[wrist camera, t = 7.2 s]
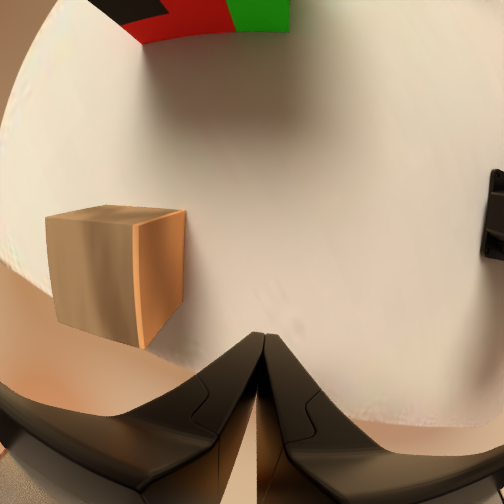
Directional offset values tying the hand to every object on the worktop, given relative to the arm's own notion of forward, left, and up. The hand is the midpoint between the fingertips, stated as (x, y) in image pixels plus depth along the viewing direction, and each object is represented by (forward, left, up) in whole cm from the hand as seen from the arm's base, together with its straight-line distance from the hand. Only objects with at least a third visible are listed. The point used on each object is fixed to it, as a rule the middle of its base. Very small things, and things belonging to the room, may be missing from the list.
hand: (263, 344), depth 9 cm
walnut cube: (+6, 0, -5) cm, 8 cm away
